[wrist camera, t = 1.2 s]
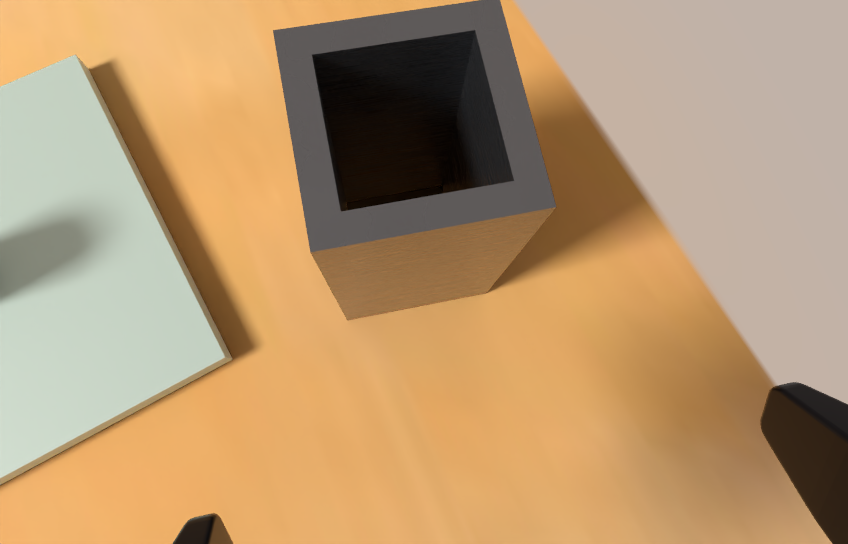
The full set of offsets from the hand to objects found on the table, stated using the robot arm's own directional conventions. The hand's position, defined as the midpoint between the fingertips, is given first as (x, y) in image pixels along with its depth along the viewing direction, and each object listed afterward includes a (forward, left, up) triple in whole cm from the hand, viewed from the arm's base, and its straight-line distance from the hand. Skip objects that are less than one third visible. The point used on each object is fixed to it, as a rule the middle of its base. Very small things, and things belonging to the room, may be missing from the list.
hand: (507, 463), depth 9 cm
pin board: (+13, +13, -13) cm, 22 cm away
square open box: (+7, -2, -13) cm, 15 cm away
